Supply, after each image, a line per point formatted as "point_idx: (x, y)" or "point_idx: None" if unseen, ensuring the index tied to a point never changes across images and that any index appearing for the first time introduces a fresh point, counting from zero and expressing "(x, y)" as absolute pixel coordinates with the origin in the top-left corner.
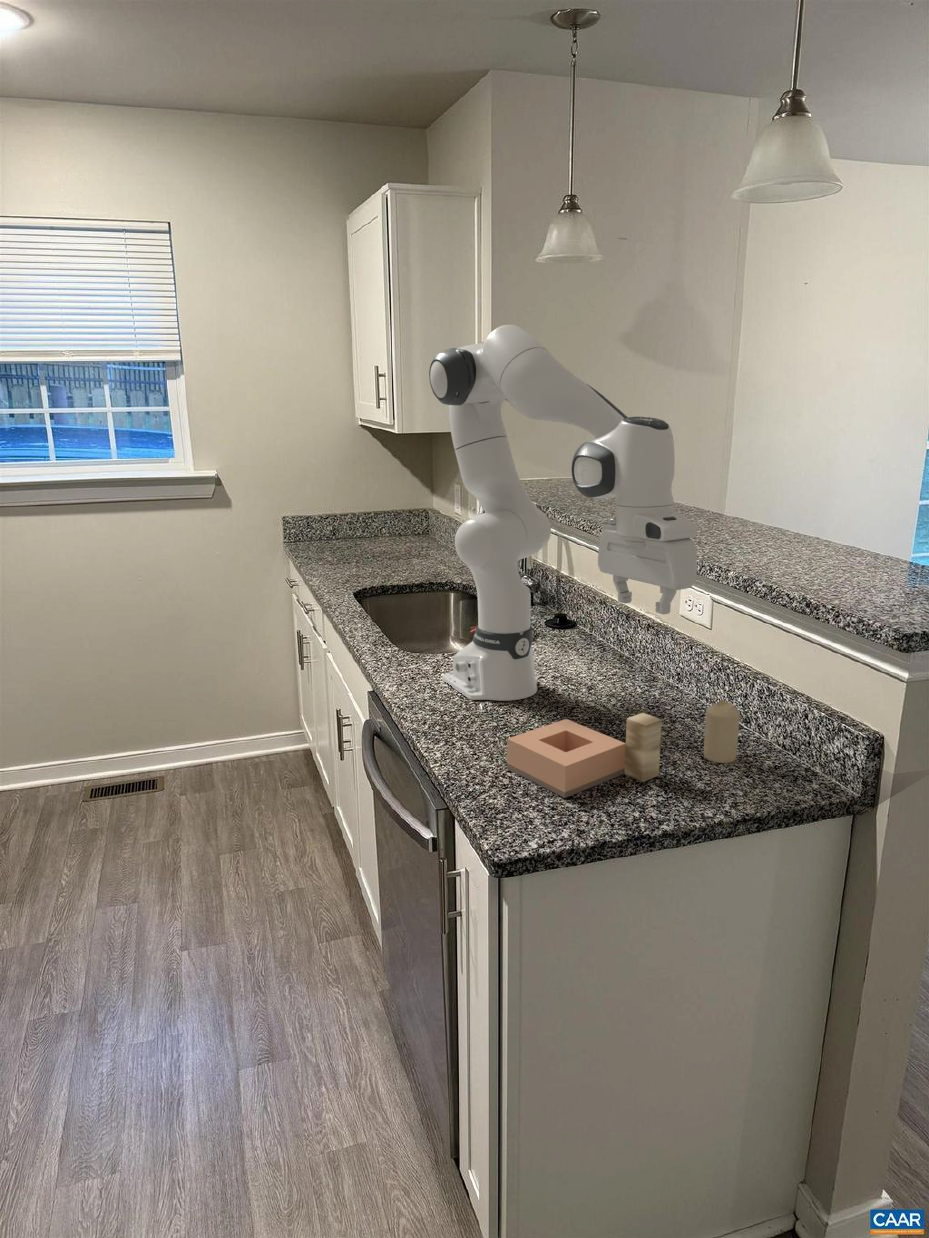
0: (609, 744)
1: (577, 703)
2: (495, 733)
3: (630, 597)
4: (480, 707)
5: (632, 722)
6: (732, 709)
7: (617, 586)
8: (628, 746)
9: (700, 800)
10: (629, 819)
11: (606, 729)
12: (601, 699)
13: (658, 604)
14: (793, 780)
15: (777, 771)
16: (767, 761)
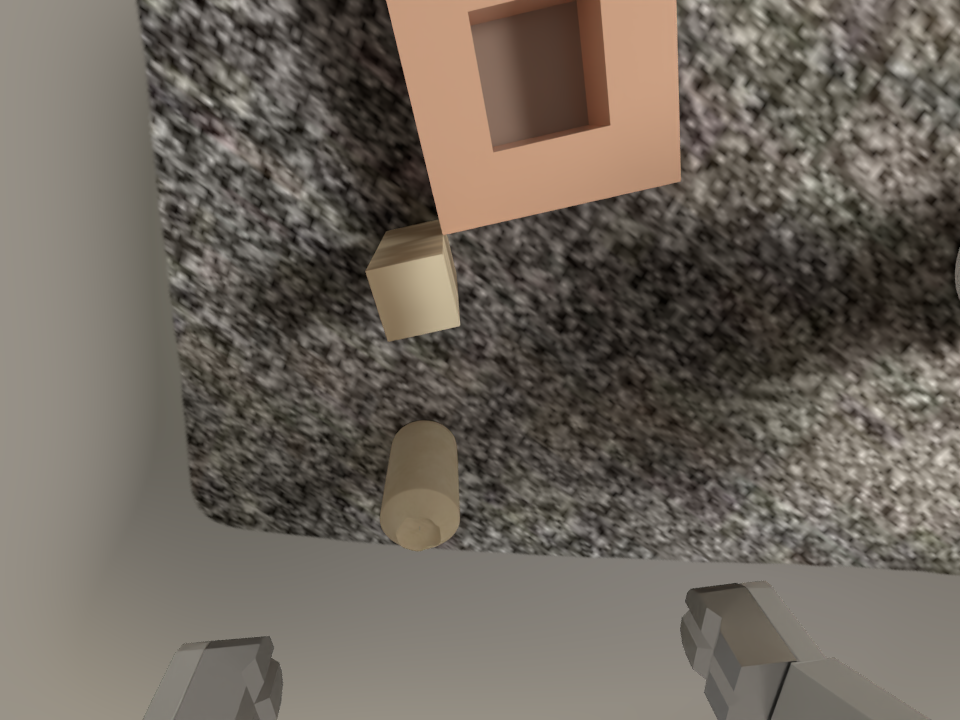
0: (457, 187)
1: (830, 355)
2: (849, 28)
3: (705, 673)
4: None
5: (418, 257)
6: (393, 535)
7: (874, 716)
8: (433, 236)
9: (259, 290)
10: (216, 69)
11: (668, 328)
12: (806, 414)
13: (188, 717)
14: (281, 492)
15: (325, 493)
16: (369, 504)
